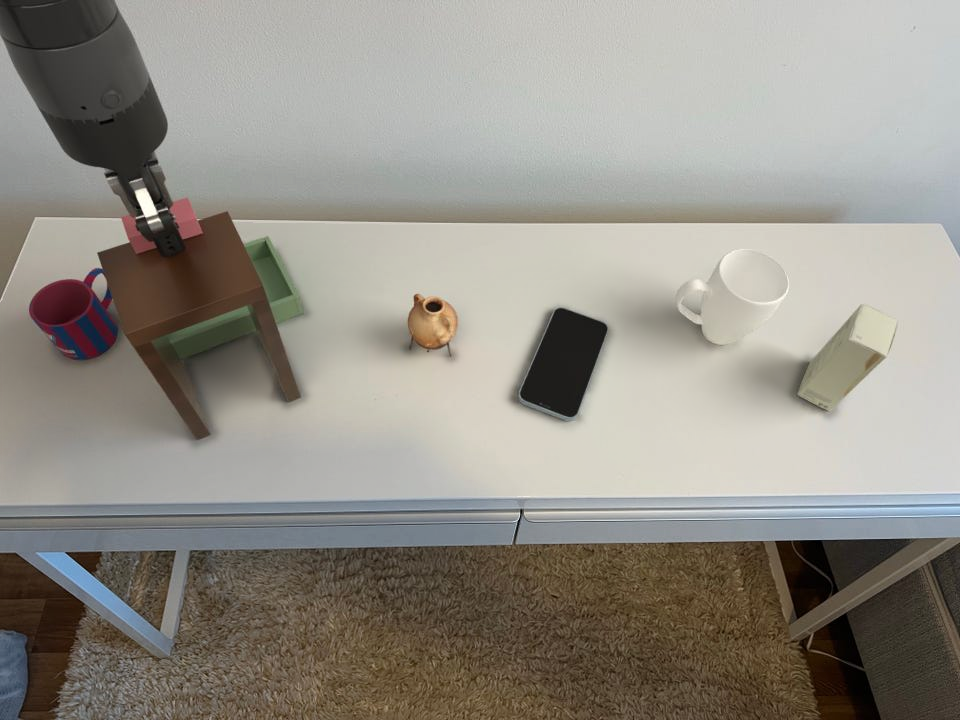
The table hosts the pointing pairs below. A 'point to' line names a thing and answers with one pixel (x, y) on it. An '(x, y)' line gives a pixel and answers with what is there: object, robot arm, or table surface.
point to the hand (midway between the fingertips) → (172, 249)
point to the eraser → (183, 218)
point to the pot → (432, 323)
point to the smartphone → (563, 364)
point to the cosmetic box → (848, 357)
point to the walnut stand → (190, 305)
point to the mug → (737, 295)
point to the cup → (75, 317)
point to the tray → (240, 321)
